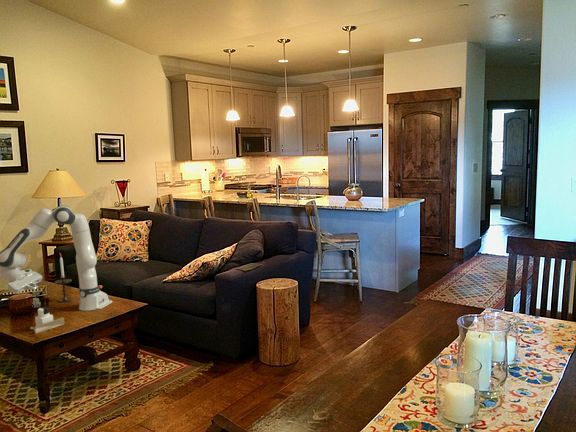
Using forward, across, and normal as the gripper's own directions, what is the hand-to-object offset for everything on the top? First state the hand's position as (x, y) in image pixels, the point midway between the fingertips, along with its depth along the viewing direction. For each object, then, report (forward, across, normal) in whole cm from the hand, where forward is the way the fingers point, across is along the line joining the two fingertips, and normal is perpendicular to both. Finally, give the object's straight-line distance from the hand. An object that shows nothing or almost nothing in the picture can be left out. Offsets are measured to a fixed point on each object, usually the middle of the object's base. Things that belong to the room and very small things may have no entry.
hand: (36, 288), depth 296 cm
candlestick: (-5, +34, +33) cm, 48 cm away
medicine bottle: (+19, -10, +13) cm, 25 cm away
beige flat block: (+19, -10, +13) cm, 25 cm away
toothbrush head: (-20, +22, +38) cm, 48 cm away
